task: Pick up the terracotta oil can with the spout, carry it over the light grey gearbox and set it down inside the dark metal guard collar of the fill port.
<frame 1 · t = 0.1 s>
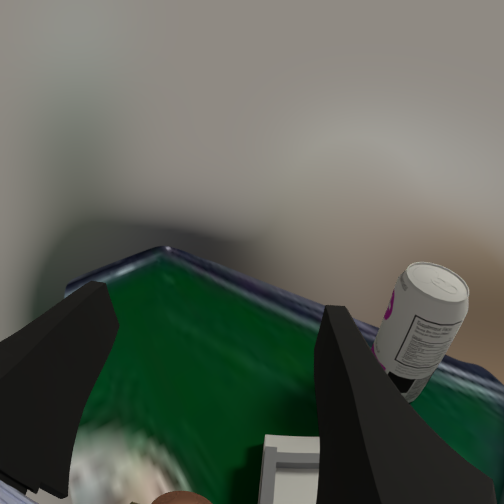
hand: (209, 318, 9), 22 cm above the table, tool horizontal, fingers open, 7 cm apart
supplement can: (389, 383, 32), on the table
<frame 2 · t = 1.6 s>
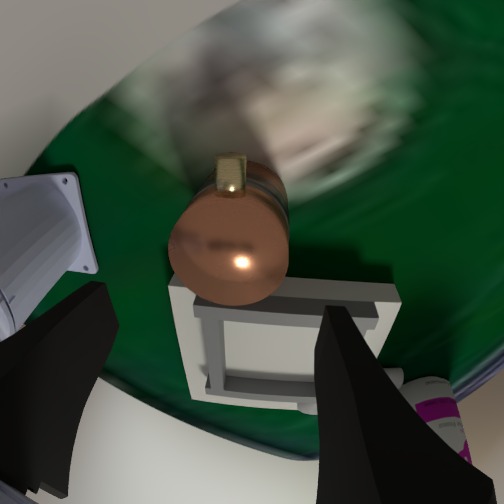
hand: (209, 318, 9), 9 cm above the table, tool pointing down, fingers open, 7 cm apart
spout can: (244, 202, 17), on the table
supplement can: (415, 393, 27), on the table
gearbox: (278, 346, 24), on the table
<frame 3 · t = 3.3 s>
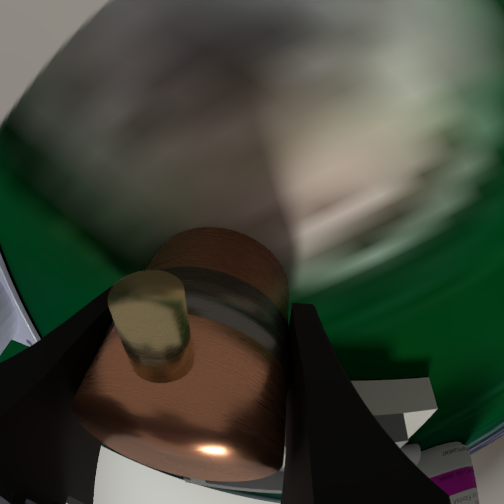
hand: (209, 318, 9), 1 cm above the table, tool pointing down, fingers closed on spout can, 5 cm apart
spout can: (217, 290, 11), on the table, touching gripper
supplement can: (428, 455, 20), on the table
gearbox: (273, 435, 17), on the table
when the fingers open (4 cm above the table, at t = 7.2 s): spout can stays where it is, resting on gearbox.
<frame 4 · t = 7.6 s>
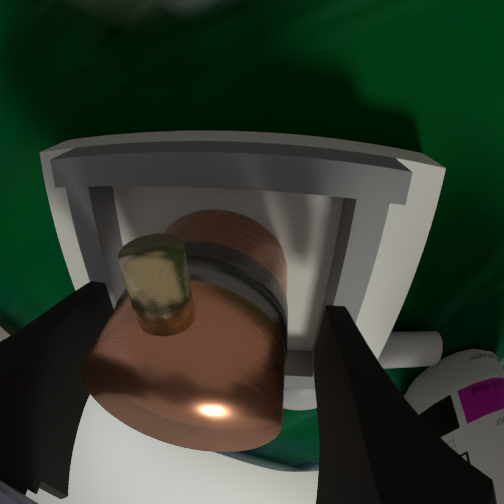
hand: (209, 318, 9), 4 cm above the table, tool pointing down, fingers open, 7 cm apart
spout can: (219, 270, 11), point 2 cm above the table, touching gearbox
supplement can: (448, 377, 18), on the table
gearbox: (230, 284, 14), on the table
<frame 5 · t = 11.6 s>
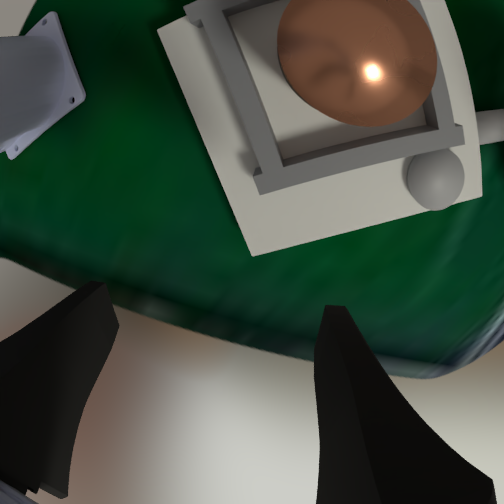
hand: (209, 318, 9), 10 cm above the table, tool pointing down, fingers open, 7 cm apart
spout can: (332, 60, 12), point 2 cm above the table, touching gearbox
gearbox: (340, 99, 15), on the table
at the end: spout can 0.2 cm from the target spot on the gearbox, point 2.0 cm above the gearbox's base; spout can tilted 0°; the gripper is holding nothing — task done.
